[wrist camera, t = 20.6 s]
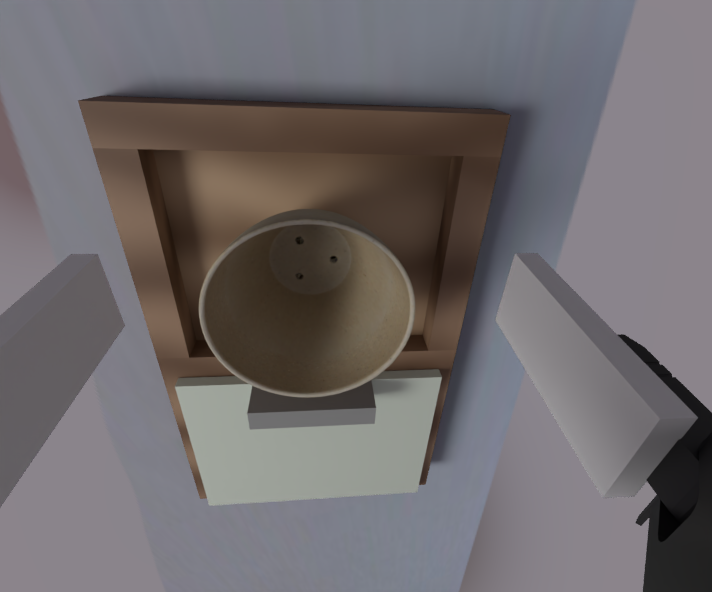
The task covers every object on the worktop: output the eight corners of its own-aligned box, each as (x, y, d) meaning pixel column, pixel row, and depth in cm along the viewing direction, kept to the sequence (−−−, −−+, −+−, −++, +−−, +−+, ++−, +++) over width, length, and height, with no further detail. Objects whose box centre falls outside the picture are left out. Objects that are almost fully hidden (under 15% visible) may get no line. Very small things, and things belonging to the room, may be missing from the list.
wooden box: (101, 95, 19) (77, 100, 17) (493, 109, 21) (510, 114, 19) (206, 475, 35) (200, 498, 34) (419, 462, 37) (425, 484, 35)
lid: (178, 377, 26) (162, 417, 23) (438, 369, 28) (452, 404, 25) (211, 496, 33) (202, 536, 31) (415, 483, 35) (423, 520, 32)
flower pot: (396, 307, 27) (420, 381, 21) (253, 330, 27) (235, 411, 21) (383, 160, 21) (410, 203, 15) (204, 188, 21) (161, 241, 15)
